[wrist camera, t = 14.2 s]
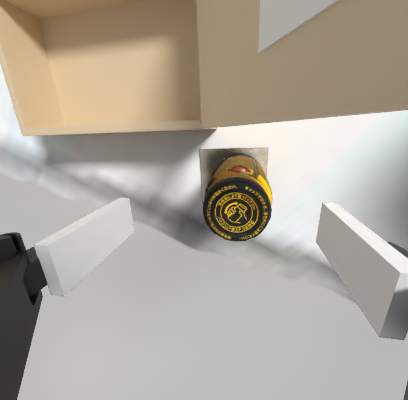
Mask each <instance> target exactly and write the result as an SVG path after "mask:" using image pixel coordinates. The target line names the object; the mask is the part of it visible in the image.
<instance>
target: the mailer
mask: <svg viewBox="0 0 408 400" xmlns="http://www.w3.org/2000/svg"><path fill="white" fill-rule="evenodd" d="M0 64H1V67H2V70H3V74H4V77H5V80H6V83H7V87H8V90H9V93H10V96H11V100H12V103H13V106H14V109H15V113H16V116H17V119H18V122H19V126H20V129H21V132H22V135H23V136H46V135H79V134H104V133H129V132H154V131H179V130H203V129H217V127H216V128H203V129H202V119H201V92H200V64H199V37H198V10H197V0H0Z"/></svg>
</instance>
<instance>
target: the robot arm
mask: <svg viewBox="0 0 408 400" xmlns="http://www.w3.org/2000/svg"><path fill="white" fill-rule="evenodd" d="M133 232H134V226H133V220H132V214H131V208H130V202H129V198H118V199H117V200H115V201H113V202H111V203H109V204H107V205H105V206H104V207H102V208H100V209H98V210H96V211H94V212H93V213H91V214H89V215H87V216H85V217H83V218H82V219H80V220H78V221H76V222H74V223H72V224H71V225H69V226H67V227H65V228H63V229H61V230H60V231H58V232H56V233H54V234H52V235H50V236H49V237H47V238H45V239H43V240H41V241H39V242H37V243H36V244H34V247H32V248H30V249H29V250H27V251H26V249H25V246H24V243H23V240H22V237H21V235H20V233H6V234H2V235H0V400H17V397H18V393H19V389H20V385H21V381H22V377H23V373H24V369H25V365H26V361H27V357H28V353H29V349H30V345H31V341H32V337H33V333H34V329H35V325H36V321H37V317H38V313H39V309H40V305H41V301H42V297H43V296H42V292H41V289H42V288H43V287H45V286H46V285H48V288H49V291H50V294H51V295H57V296H65V295H67V294H68V293H69V292H70V291H71V290H72V289H73V288H74V287H75V286H76V285H77V284H79V283H80V282H81V281H82V280H83V279H84V278H85V277H86V276H87V275H88V274H89V273H90V272H91V271H92V270H94V269H95V268H96V267H97V266H98V265H99V264H100V263H101V262H102V261H103V260H104V259H105V258H106V257H107V256H109V255H110V254H111V253H112V252H113V251H114V250H115V249H116V248H117V247H118V246H119V245H120V244H122V243H123V242H124V241H125V240H126V239H127V238H128V237H129V236H130V235H131V234H132V233H133ZM316 242H317V244H318V245H319V247H320V249H321V250H322V252H323V253H324V255H325V256H326V258H327V259H328V261H329V262H330V264H331V265H332V267H333V268H334V270H335V271H336V273H337V274H338V276H339V277H340V279H341V280H342V282H343V283H344V285H345V286H346V288H347V289H348V291H349V292H350V294H351V295H352V297H353V298H354V300H355V301H356V303H357V304H358V306H359V307H360V309H361V310H362V312H363V313H364V315H365V316H366V318H367V319H368V321H369V322H370V324H371V325H372V327H373V328H374V330H375V331H376V333H377V334H378V336H379V337H383V338H391V339H399V340H404V339H405V337H406V334H407V331H408V252H407V251H406V250H405V249H403V248H401V247H399V246H397V245H395V244H393V243H391V242H386V241H384V240H383V239H382V238H381V237H379V236H378V235H377V234H375V233H374V232H373V231H372V230H370V229H369V228H368V227H366V226H365V225H364V224H362V223H361V222H360V221H359V220H357V219H356V218H355V217H353V216H352V215H351V214H349V213H348V212H347V211H346V210H344V209H343V208H342V207H340V206H339V205H338V204H336V203H322V208H321V214H320V221H319V227H318V233H317V239H316ZM404 400H408V382H407V387H406V391H405V395H404Z"/></svg>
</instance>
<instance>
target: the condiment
mask: <svg viewBox="0 0 408 400" xmlns="http://www.w3.org/2000/svg"><path fill="white" fill-rule="evenodd" d="M223 158H224V159H223ZM267 162H268V147H267V148H230V149H200V164H201V181H202V203H203V214H204V219H205V221H206V224H207V225H208V226H209V227H210V229H211V230H212V232H213V233H215V234H217V235H218V236H220V237H222V238H224V239H226V240H230V241H246V240H248V239H251V238H254V237H256V236H258V235H259V234H260V233H261V232H262V231H263V230H264V228H265V227H266V226H267V224H268V222H269V220H270V217H271V211H272V209H271V204H272V192H271V188H270V186H269V183H268V181H267V178H266V177H267Z"/></svg>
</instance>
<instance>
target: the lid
mask: <svg viewBox="0 0 408 400" xmlns="http://www.w3.org/2000/svg"><path fill="white" fill-rule="evenodd" d="M197 10H198V37H199V64H200V92H201V119H202V129H203V128H216V127H227V126H238V125H249V124H260V123H271V122H282V121H293V120H304V119H314V118H325V117H336V116H347V115H358V114H369V113H380V112H391V111H401V110H408V0H197Z"/></svg>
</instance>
